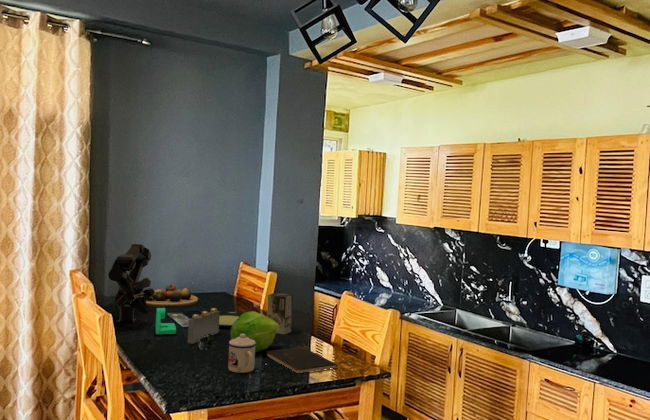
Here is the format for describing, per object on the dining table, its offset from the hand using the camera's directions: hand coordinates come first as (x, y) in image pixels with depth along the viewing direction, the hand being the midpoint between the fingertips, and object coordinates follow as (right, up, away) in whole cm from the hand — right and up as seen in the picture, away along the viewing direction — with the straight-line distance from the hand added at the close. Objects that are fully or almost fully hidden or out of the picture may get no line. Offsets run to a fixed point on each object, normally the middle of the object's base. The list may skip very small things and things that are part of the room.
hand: (147, 313), depth 229 cm
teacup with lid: (+46, -10, -46) cm, 66 cm away
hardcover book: (+65, -12, -34) cm, 74 cm away
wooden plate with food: (-9, -6, +60) cm, 61 cm away
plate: (+30, -8, +21) cm, 38 cm away
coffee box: (+54, -10, +8) cm, 55 cm away
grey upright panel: (+25, -8, -8) cm, 28 cm away
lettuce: (+47, -10, -22) cm, 53 cm away
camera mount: (+8, -8, -3) cm, 12 cm away
